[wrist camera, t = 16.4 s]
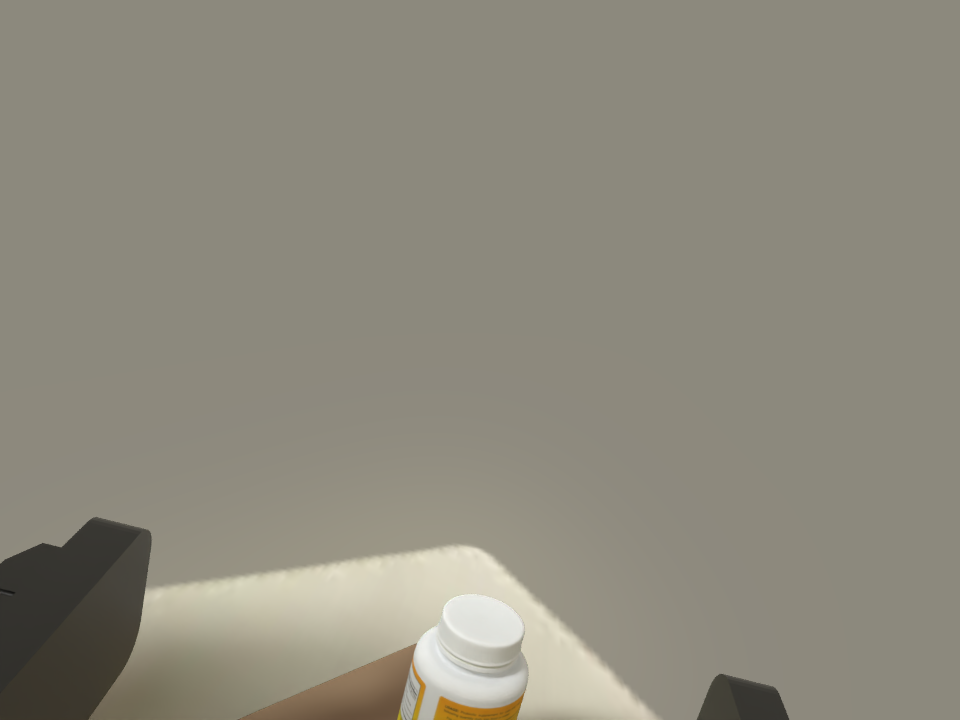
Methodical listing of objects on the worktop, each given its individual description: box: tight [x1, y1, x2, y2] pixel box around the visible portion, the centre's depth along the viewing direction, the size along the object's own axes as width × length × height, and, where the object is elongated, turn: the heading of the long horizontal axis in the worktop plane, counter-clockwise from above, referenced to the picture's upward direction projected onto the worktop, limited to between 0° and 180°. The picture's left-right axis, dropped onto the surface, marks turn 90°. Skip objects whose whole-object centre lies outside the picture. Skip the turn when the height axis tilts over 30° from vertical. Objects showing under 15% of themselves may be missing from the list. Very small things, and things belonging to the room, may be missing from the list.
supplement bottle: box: [397, 594, 529, 720], centre depth 42 cm, size 6×6×10 cm
